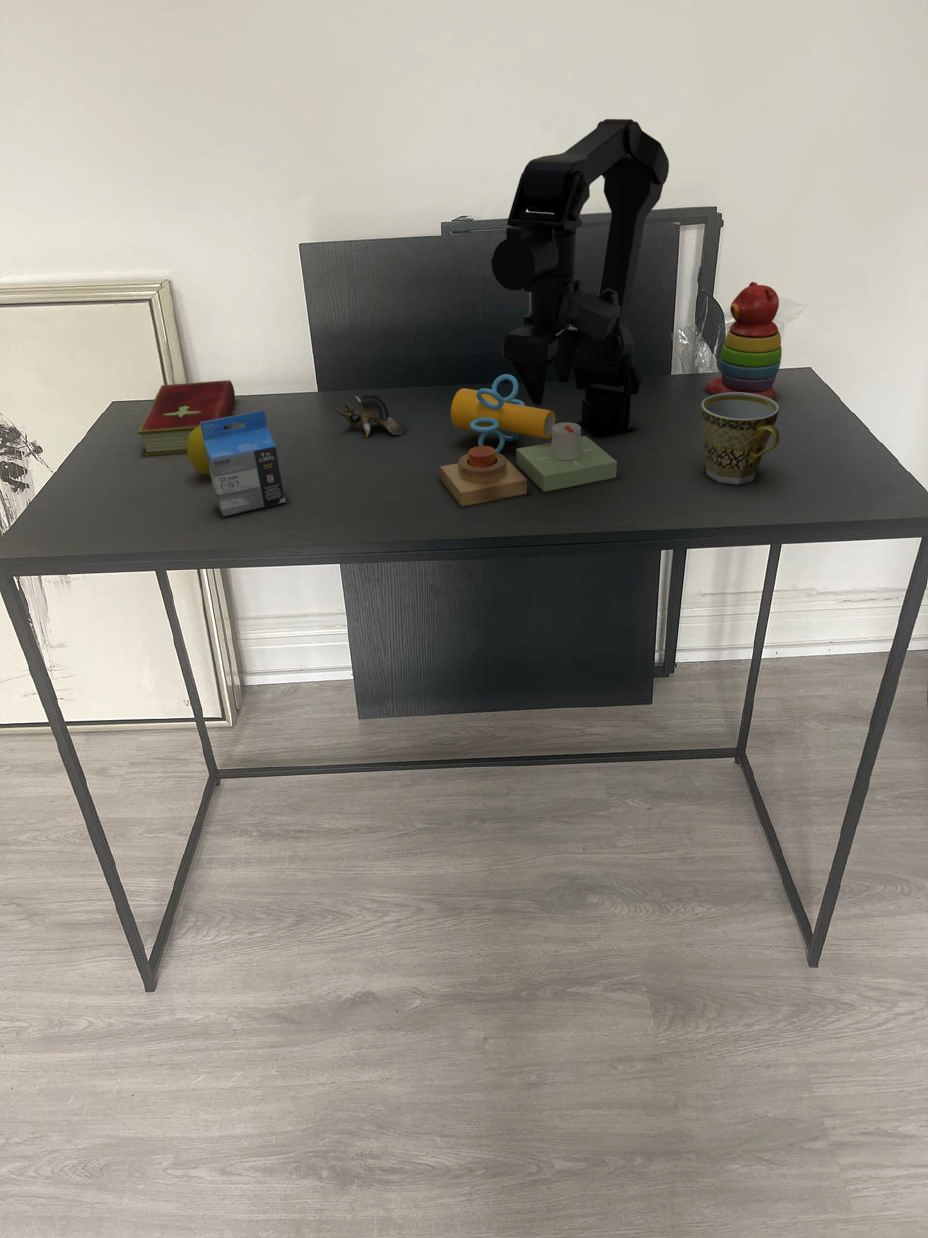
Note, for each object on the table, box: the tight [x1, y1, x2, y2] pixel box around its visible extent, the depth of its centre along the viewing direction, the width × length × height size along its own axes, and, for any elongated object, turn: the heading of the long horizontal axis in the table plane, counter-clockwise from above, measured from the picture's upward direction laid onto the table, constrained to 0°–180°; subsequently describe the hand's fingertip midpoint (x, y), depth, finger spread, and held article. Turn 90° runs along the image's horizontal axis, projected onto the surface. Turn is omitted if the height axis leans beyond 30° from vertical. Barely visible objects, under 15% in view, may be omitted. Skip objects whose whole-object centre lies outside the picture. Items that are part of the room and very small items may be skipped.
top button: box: [468, 445, 496, 467], centre depth 124 cm, size 4×4×2 cm
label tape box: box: [200, 410, 286, 517], centre depth 121 cm, size 9×4×12 cm, turn 114°
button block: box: [439, 452, 528, 507], centre depth 125 cm, size 10×9×4 cm
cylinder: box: [450, 373, 557, 454], centre depth 134 cm, size 12×10×15 cm
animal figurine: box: [335, 394, 404, 438], centre depth 143 cm, size 8×7×9 cm
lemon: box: [187, 425, 211, 477], centre depth 131 cm, size 6×6×8 cm
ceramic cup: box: [700, 392, 780, 485], centre depth 122 cm, size 13×10×10 cm
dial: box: [551, 421, 582, 460], centre depth 127 cm, size 4×4×4 cm
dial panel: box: [515, 435, 618, 493], centre depth 129 cm, size 11×10×3 cm
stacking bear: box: [706, 281, 783, 400], centre depth 145 cm, size 11×10×18 cm
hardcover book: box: [137, 379, 236, 457], centre depth 149 cm, size 12×21×4 cm, turn 6°
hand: (550, 393), depth 122 cm, fingers open, 9 cm apart
